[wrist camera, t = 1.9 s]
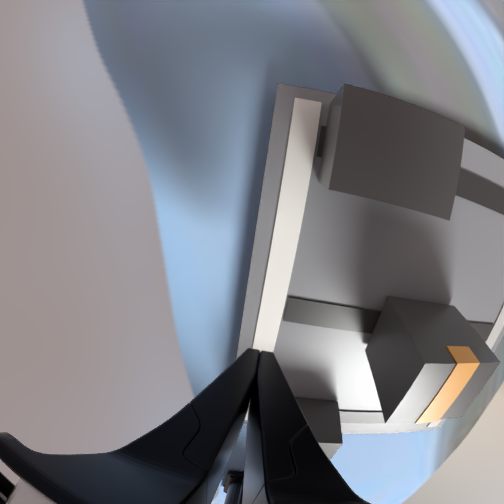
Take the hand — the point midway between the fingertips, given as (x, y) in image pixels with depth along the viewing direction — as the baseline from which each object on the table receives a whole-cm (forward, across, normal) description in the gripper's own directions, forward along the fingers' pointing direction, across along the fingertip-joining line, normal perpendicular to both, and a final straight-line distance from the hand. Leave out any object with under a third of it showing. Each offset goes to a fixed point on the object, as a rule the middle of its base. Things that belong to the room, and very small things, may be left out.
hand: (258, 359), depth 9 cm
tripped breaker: (+4, -7, 0) cm, 8 cm away
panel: (+5, -7, 0) cm, 8 cm away
